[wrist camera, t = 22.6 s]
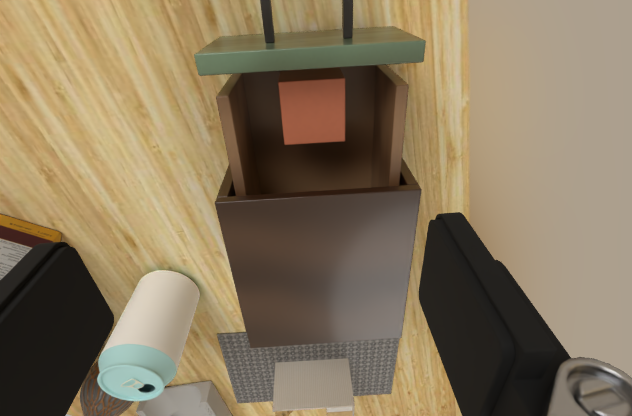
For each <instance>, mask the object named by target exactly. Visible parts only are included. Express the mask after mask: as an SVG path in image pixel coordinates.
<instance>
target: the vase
mask: <svg viewBox="0 0 632 416" xmlns="http://www.w3.org/2000/svg"><path fill="white" fill-rule="evenodd" d="M99 373H100V371H99V366H98V361H97V362H96V363H95V364H94V365H93V366H92V367H91V369H90V370H89V372H88V374H87V376H86V378H85V380H84V382H83V384H82V388H81V393H80V402H81V407H82V410H83V414H84V416H119V415H120V414H122V413H123V412H124V411H126V410H127V409H128V408H129V407H130V406H131V404H132V403H133V402H134V401H127V400H122V399H119V398H116V397H113V396H111V395H109V394H107V393H106V392H105V391H103V390H102V389H101V388H100V386H99V384H98V381H97V378H98V375H99Z"/></svg>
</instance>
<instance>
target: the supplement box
mask: <svg viewBox="0 0 632 416" xmlns="http://www.w3.org/2000/svg"><path fill="white" fill-rule="evenodd" d="M52 242H61V232H58V231H55V230H51V229H48V228H45V227H41V226H38V225H35V224H32V223H28V222H25V221H22V220H19V219H15V218H12V217H8V216H5V215H2V214H0V280H1V279H2V278H3V277H4V276H5V275H6V274H7V273H8V272H9V271H10V270H11V269H12V268H13V267H14V266H15V265H16V264H17V263H18V262H19V261H20V260H21V259H22V258H23V257H24V256H25V255H26V254H27V253H28V252H29V251H30V250H31V249H32V248H33V247H34V246H35V245H37V244H40V243H52Z"/></svg>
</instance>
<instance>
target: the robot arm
mask: <svg viewBox="0 0 632 416" xmlns="http://www.w3.org/2000/svg"><path fill="white" fill-rule="evenodd" d="M419 300H420V304H421V307H422V310H423V312H424V315H425V318H426V320H427V323H428V326H429V328H430V331H431V334H432V336H433V339H434V341H435V344H436V347H437V349H438V352H439V355H440V357H441V360H442V363H443V365H444V368H445V371H446V373H447V376H448V379H449V381H450V384H451V387H452V389H453V392H454V395H455V397H456V400H457V403H458V405H459V408H460V411H461V413H462V416H632V378H631V377H630V376H629V375H627V374H626V373H625V372H623V371H621V370H620V369H618V368H616V367H614V366H612V365H610V364H608V363H605V362H602V361H599V360H596V359H592V358H583V357H578V358H572V359H571V357H570V356H569V354H568V353H567V352H566V350H565V349H564V348H563V346H562V345H561V343H560V342H559V341H558V339H557V338H556V336H555V335H554V334H553V332H552V331H551V329H550V328H549V327H548V325H547V324H546V323H545V321H544V320H543V318H542V317H541V315H540V314H539V313H538V311H537V310H536V309H535V307H534V306H533V305H532V303H531V302H530V300H529V299H528V297H527V296H526V295H525V293H524V292H523V290H522V289H521V288H520V286H519V285H518V284H517V282H516V281H515V279H514V278H513V277H512V275H511V274H510V273H509V271H508V270H507V268H506V267H505V266H504V265H503V264H502V263H501V262H500V261H498V260H494V258H493V257H492V255H491V254H490V252H489V251H488V250H487V248H486V247H485V246H484V244H483V242H482V241H481V240H480V238H479V237H478V235H477V234H476V232H475V231H474V230H473V228H472V227H471V225H470V224H469V222H468V221H467V219H466V218H465V217H464V215H463V214H462V213H460V212H458V213H444V214H438V215H437V216H436V219H435V220H430V222H429V226H428V233H427V239H426V246H425V253H424V260H423V266H422V273H421V280H420V286H419ZM113 323H114V315H113V313H112V311H111V309H110V308H109V306H108V304H107V303H106V301H105V299H104V297H103V296H102V294H101V292H100V290H99V289H98V287H97V285H96V284H95V282H94V280H93V278H92V277H91V275H90V273H89V271H88V270H87V268H86V266H85V265H84V263H83V261H82V259H81V258H80V256H79V254H78V252H77V251H76V250H75V248H73V247H70V246H69V245H68V244H67V243H65V242H52V243H40V244H37V245H35V246H34V247H33V248H32V249H31V250H30V251H29V252H28V253H27V254H26V255H25V256H24V257H23V258H22V259H21V260H20V261H19V262H18V263H17V264H16V265H15V266H14V267H13V268H12V269H11V270H10V271H9V272H8V273H7V274H6V275H5V276H4V277H3V278H2V279H1V280H0V416H65V415H66V413H67V412H68V410H69V408H70V406H71V404H72V402H73V400H74V398H75V397H76V395H77V393H78V391H79V389H80V387H81V385H82V383H83V382H84V380H85V378H86V376H87V374H88V372H89V370H90V368H91V366H92V365H93V363H94V361H95V359H96V357H97V355H98V353H99V351H100V350H101V348H102V346H103V344H104V342H105V340H106V338H107V336H108V335H109V333H110V331H111V329H112V327H113Z"/></svg>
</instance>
